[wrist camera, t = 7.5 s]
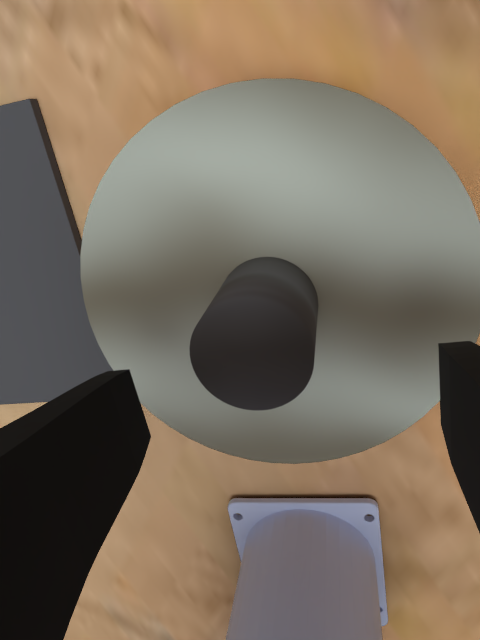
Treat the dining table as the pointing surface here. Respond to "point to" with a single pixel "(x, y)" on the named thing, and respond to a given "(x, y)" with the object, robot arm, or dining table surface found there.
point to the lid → (281, 269)
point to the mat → (39, 269)
